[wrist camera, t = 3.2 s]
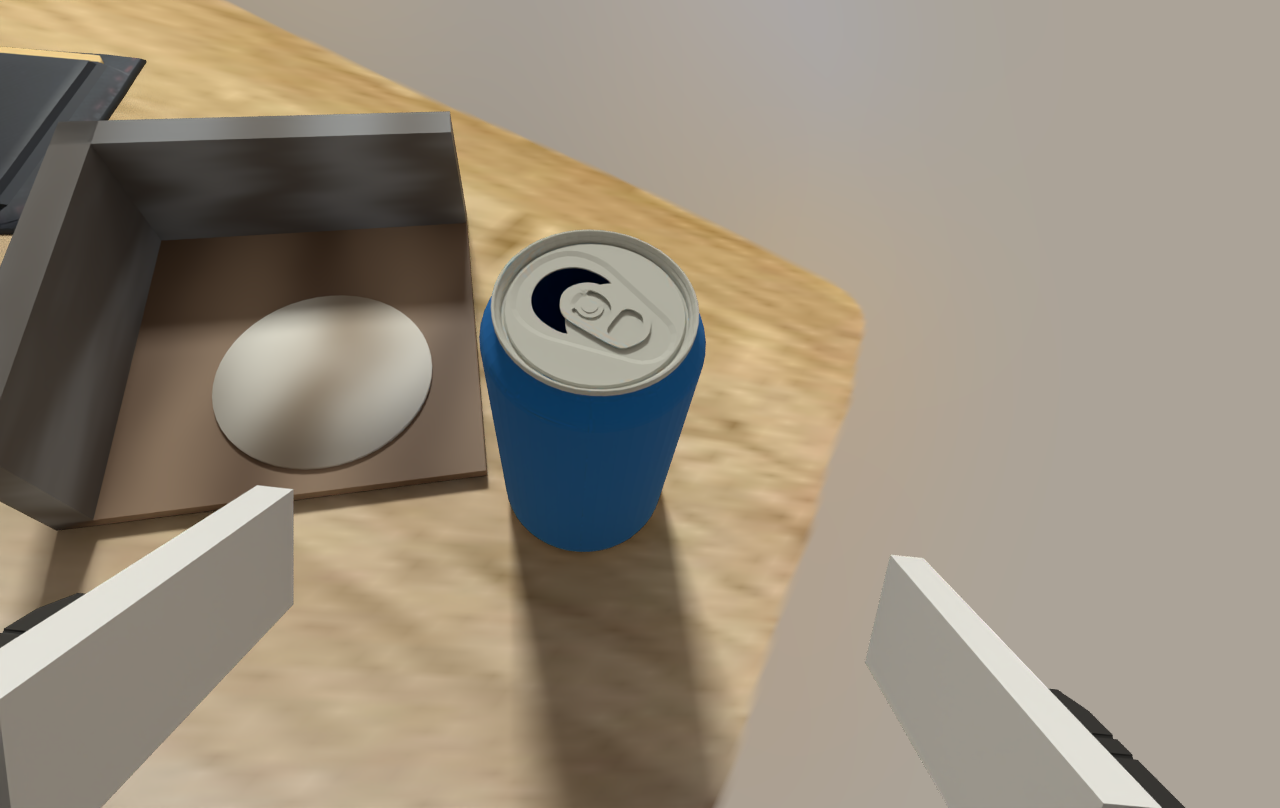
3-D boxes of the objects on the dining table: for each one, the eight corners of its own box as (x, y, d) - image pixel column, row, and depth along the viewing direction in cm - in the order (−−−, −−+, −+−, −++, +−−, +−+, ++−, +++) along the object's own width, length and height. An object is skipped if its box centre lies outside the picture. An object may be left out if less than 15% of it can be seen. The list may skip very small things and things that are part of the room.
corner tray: (56, 530, 24) (-79, 461, 19) (138, 228, 32) (58, 121, 27) (487, 475, 27) (469, 402, 22) (466, 210, 35) (449, 111, 30)
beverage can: (564, 394, 30) (565, 187, 20) (685, 465, 29) (754, 284, 18) (475, 504, 27) (420, 325, 16) (607, 589, 25) (637, 453, 15)
